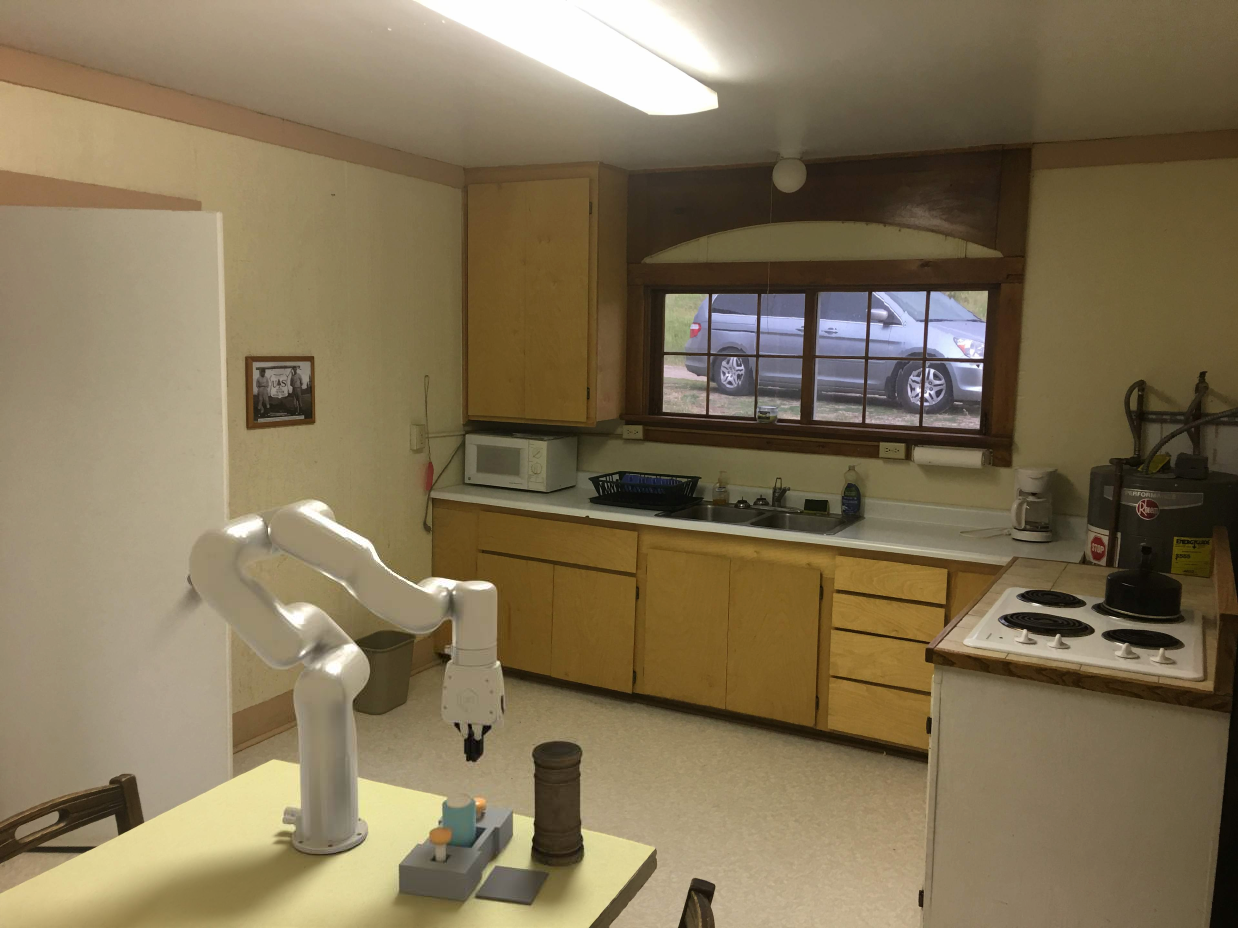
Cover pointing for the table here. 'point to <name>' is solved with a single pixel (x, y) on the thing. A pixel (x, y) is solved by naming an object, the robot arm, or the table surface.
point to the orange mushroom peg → (480, 806)
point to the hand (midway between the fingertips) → (473, 758)
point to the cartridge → (460, 819)
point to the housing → (456, 860)
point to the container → (557, 803)
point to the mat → (512, 885)
